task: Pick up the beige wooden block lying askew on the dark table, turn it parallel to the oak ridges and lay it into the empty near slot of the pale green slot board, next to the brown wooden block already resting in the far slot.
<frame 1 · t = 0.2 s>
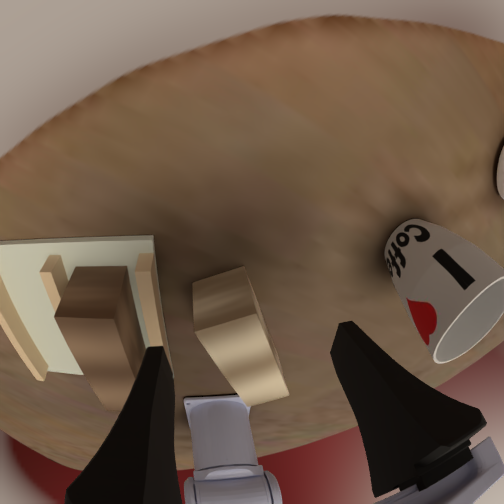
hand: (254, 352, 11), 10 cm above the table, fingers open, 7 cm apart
beige wooden block: (241, 323, 25), on the table
cup: (406, 243, 23), on the table
slot board: (81, 319, 21), on the table
brown wooden block: (116, 325, 22), point 1 cm above the table, touching slot board
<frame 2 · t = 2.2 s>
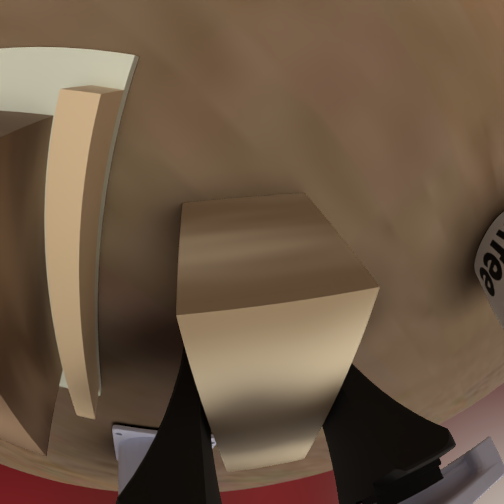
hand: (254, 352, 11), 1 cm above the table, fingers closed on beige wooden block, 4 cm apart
beige wooden block: (247, 324, 13), on the table, touching gripper
cup: (496, 242, 14), on the table
brown wooden block: (6, 270, 8), point 1 cm above the table, touching slot board
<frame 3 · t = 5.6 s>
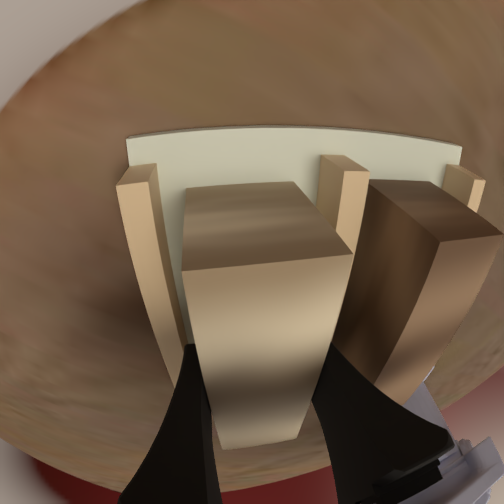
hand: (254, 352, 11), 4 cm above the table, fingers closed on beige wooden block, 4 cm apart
beige wooden block: (243, 305, 14), point 1 cm above the table, touching gripper, slot board
slot board: (309, 287, 15), on the table
brown wooden block: (372, 285, 15), point 1 cm above the table, touching slot board
when the fingers open (4 cm above the table, at t = 6.2 s): beige wooden block stays where it is, resting on slot board.
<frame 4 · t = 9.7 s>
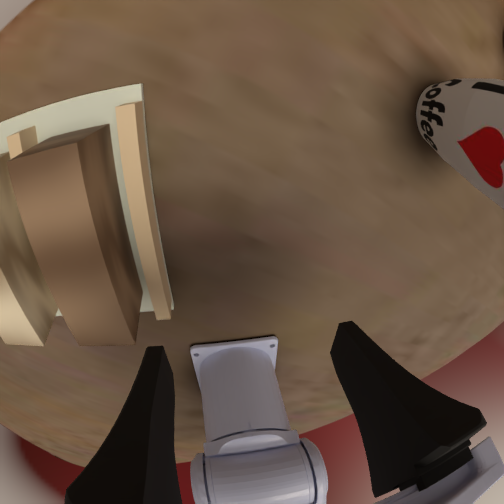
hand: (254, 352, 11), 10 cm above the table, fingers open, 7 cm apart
beige wooden block: (16, 234, 16), point 1 cm above the table, touching slot board
cup: (437, 114, 17), on the table
slot board: (55, 223, 17), on the table
brown wooden block: (96, 221, 17), point 1 cm above the table, touching slot board
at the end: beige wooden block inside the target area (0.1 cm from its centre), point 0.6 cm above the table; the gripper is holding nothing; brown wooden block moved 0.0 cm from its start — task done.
